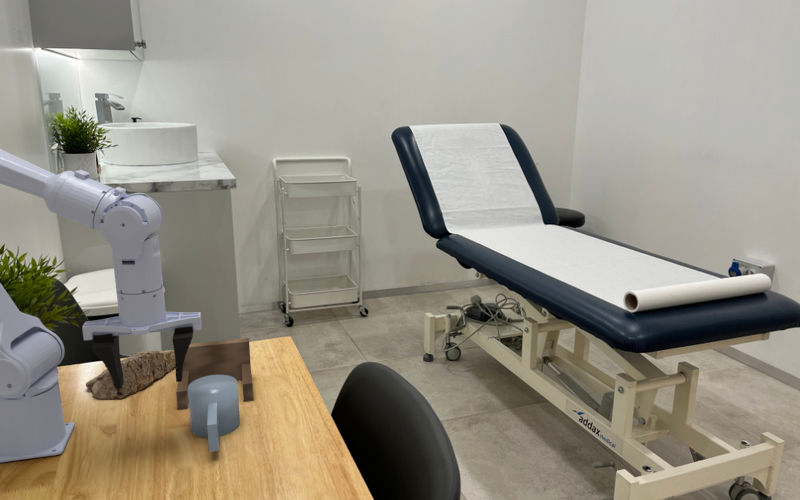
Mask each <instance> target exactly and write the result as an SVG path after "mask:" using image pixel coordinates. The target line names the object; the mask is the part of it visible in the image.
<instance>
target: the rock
mask: <svg viewBox="0 0 800 500" xmlns="http://www.w3.org/2000/svg"><path fill="white" fill-rule="evenodd" d="M121 366H122V371H123V381H124V382H123V385H122V387H121V388H119V389H116V388H115V385H114V382H113V379H112V377H111V375H110V373H109V371H108V369H107V368H106V369H104V370H103V371H102V372H101V373H100V374H98V375H97V376H95V377H94V378H92V379H89V381H87V382H85V387H86V388H87V390H88V391H90V392H91V394H92V396H93V397H95V398H96V399H99V400H114V399H117V400H121V399H123V398H125V397H126V396H130V395H133V394H135V393H137V392H139V391H142V390H143V389H145V388H146V387H148V386H149V385H151V384H152V382H154V381H155V380H157V379H161V378H162V377H164V376H165V374H166V373H171V372H172V371H173V369H174V368H176V361H175V353H174V349H168V350H157V349H155V350H154V349H152V350H142V351H140V352H136V353H134V354H132V355H130V356H128V357H127V358H125V359H122V360H121Z"/></svg>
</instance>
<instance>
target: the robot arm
mask: <svg viewBox="0 0 800 500" xmlns="http://www.w3.org/2000/svg"><path fill="white" fill-rule="evenodd" d="M90 176H91V174H90V172H88V171H84V170H83V169H79V170H75V171H73V170H65V171H63V172H60V173H58V174H55V173H53V172H51V171H49V170H47V169H44V168H42V167H40V166H38V165H36V164H33V163H31V162H30V161H27V160H25V159H23V158H21V157H18V156H16V155H14V154H13V153H10V152H7V151H5V150H4V149H1V148H0V184H1V185H3V186H6V187H10V188H11V189H14V190H17V191H21V192H24V193H26V194H29V195H32V196H34V197H35V196H36V197H37V198H41V199H43V200H44V203H45V204H46V207H47V209H48V210H49V211H50V212H51V213H53V214H55V215H57V216H61V217H63V218H66V219H67V220H68V219H69V220H71V221H73V222H76V223H79V224H81V225H83V226H86V227H89V228H91V229H94V230H97V232H100V233H101V235H102V236H103V237H104V239H105V240H106V241H107V242H108V243H109V244H110V246H111V252H112V254H111V255H112V263H113V270H114V271H113V272H114V280H115V281H114V282H115V289H116V290H115V292H116V300H117V307H118V308H117V309H118V316H113V317H108V318H103V319H97V320H89V321H85V322H84V323H83V325H82V328H81V329H82V336H83V341H92V340H93V342H92V345H91V348H92V351H93V353H94V354H95V355H96V356H97V357H98V358H99V359H100V360H101V361H102V363H103V364H104V366H105V368H106V369H108V371H109V373H110V375H111V377H112V379H113V382H114V385H115V388H116V389H119V388H121V387H122V385H123V382H124V381H123V371H122V366H121V361H122V360H121V351H120V336H127V335H132V336H140V335H147V334H151V333H161V332H172V331H174V332H173V335H172V343H173V350H174V353H175V361H176V367H175V382H176V383H178V382H181V381H182V377H183V364H184V360H185V356H186V353H187V350H188V348H189V345H190V344H192V340H193V337H194V331H201V330H202V314H201V313H202V312H201V311H195V312H191V311H190V312H188V311H187V312H186V311H185V312H184V311H183V312H182V311H181V312H180V311H167V310H166V302H165V290H164V289H165V288H164V280H163V279H164V278H163V270H162V268H163V267H162V259H161V258H162V257H161V250H160V240H159V233H157V232H158V231H159V230H160V229H161V228H162V225H163V223H164V212H163V209H162V207H161V206H160V204H159V203H158V202H157V201H156V200H155V199H154V198H152V197H150V196H149V195H148V194H146V193H145V192H144V193H142V192H135V193H131V194H127V190H126V188H123V187H121V186H116V187H115V188H114V187H112V186H110V185H107V184H104V183H103V182H100V181H97V180H95V179H92V178H90ZM64 357H65V346H64V343H63V340H61V338H60V337H59V336H58V335H57V334H56V333H55V332H54V331H51V330H50V329H48V327H46V326H45V325H44V324H43V322H42V321H41V319H40V318H39V317H37V316H34V315H31V314H28V313H24V312H22V311H20V310H19V308H18V307H17V305H16V303H15V302H14V300H13V299H12V298H11V296H10V295H9V293H8V292H7V290H6V289H5V288H4V286H3V285H2V283H1V282H0V463H7V462H12V461H21V460H22V461H23V460H28V459H29V460H30V459H36V458H43V457H51V456H57V455H61V454H62V453H63V452H64V450H65V448H66V445H67V443H68V441H69V439H70V437H71V435H72V432H73V430H74V428H75V422H73V421H72V422H71V421H70V422H65V417H64V410H63V404H62V398H61V397H62V396H61V390H60V384H59V383H60V382H59V375H58V374H59V369H58V365H60V364H61V363H62V361H63V359H64Z"/></svg>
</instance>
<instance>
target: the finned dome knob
mask: <svg viewBox="0 0 800 500" xmlns="http://www.w3.org/2000/svg"><path fill="white" fill-rule="evenodd" d="M188 400H189V404H188V410H189V421H190V431H191V432H192V434H194V435H195V436H197V437H199V438H205V439H206V438H207V441H208V452H210V453H211V452H218V451H219V449H220V445H219V444H220V437H223V436H227V435H228V434H230V433H232V432H234V431H236V430H237V429H238V428H239V426H240V423H241V418H240V417H241V416H240V402H239V385H238V381H237V380H236V379H235V378H234V377H232V376H228V375H209V376H205V377H201V378H199V379H196V380H195V381H193V382H191V383H190V384H189V386H188Z"/></svg>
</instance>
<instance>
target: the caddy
mask: <svg viewBox="0 0 800 500" xmlns="http://www.w3.org/2000/svg"><path fill="white" fill-rule="evenodd" d="M209 375H228V376H232V377H234V378H235V379H236V380H237V382H238V381H242V392H243V393H242V394H243V396H242V397H243V402H248V401H254V390H253V389H254V387H253V377H252V376H253V374H252V365H251V349H250V338H248V337H247V338H246V337H245V338H238V339H237V338H235V339H224V340H217V341H215V340H213V341H205V342H196V343H190V345H189V348H188V350H187V353H186V356H185V360H184V364H183V377H182V381H181V382H177V385H176V391H175V393H176V403H177V404H176V405H177V410H184V409H189V400H188V386H189V384H190V383H191V382H193V381H195V380H196V379H199V378H201V377H205V376H209Z"/></svg>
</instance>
